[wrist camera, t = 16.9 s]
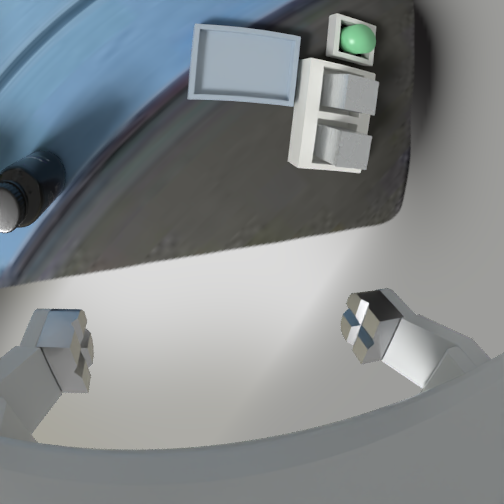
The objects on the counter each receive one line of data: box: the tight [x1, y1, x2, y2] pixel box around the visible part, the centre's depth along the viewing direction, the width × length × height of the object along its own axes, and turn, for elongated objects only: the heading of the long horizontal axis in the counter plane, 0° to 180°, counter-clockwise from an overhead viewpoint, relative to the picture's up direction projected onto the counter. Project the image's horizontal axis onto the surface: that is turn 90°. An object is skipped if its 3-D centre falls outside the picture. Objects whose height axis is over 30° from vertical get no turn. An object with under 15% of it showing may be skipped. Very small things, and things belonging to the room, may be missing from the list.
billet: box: [320, 74, 379, 116], centre depth 32 cm, size 4×4×7 cm
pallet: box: [288, 58, 376, 173], centre depth 36 cm, size 14×9×4 cm, turn 174°
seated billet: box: [313, 123, 372, 170], centre depth 35 cm, size 4×4×7 cm
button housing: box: [326, 13, 376, 66], centre depth 32 cm, size 6×6×2 cm
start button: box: [339, 24, 376, 54], centre depth 31 cm, size 4×4×3 cm
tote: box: [187, 24, 301, 107], centre depth 32 cm, size 9×12×2 cm
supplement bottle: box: [0, 151, 66, 233], centre depth 27 cm, size 7×7×12 cm
